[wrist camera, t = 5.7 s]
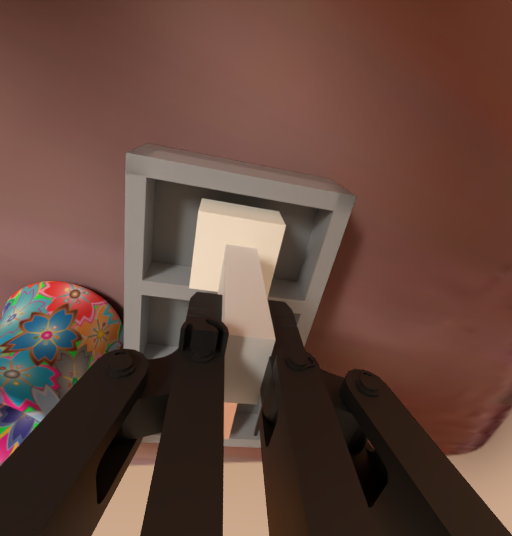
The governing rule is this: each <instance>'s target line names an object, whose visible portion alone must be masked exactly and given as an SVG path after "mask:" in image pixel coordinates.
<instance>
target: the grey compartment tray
mask: <svg viewBox="0 0 512 536" xmlns="http://www.w3.org/2000/svg"><path fill="white" fill-rule="evenodd" d="M356 197H357V196H355V195H354V194H352V193H351V192H349V191H348V190H347V189H345V188H344V187H342V186H341V185H339V184H338V183H336V182H335V181H333V180H332V179H327V178H322V177H317V176H312V175H307V174H302V173H297V172H292V171H287V170H282V169H276V168H271V167H266V166H261V165H256V164H251V163H246V162H241V161H236V160H231V159H226V158H221V157H216V156H211V155H205V154H200V153H195V152H190V151H185V150H180V149H175V148H170V147H165V146H160V145H155V144H150V143H146V144H144V145H142V146H139V147H137V148H135V149H132V150H130V151H128V152H126V162H125V254H124V346H123V349H133V350H136V351H139V352H141V353H143V354H144V356H145V357H146V358H147V359H148V360H149V359H156V358H161V357H165V356H167V355H169V354H171V353H173V352H174V351H176V350H177V348H178V347H179V338H180V329H181V327H182V325H183V323H184V322H185V321H186V316H187V311H188V306H189V301H190V298H191V297H192V296H193V295H194V294H195V293H196V292H204V293H212V294H218V292H214V291H207V290H199V289H191V288H189V285H190V276H191V268H192V260H193V251H194V243H195V235H196V226H197V218H198V210H199V207H200V203H201V200H202V198H204V199H210V200H216V201H222V202H227V203H233V204H239V205H245V206H250V207H256V208H262V209H268V210H273V211H279V212H280V214H281V217H282V219H283V221H284V223H285V225H286V227H285V231H284V235H283V239H282V243H281V247H280V251H279V255H278V259H277V263H276V267H275V271H274V274H273V278H272V282H271V286H270V290H269V294H268V298H267V300H274V301H282V302H286V304H287V305H288V306H289V307H290V308H291V309H292V311H293V314H294V317H295V320H296V323H297V327H298V330H299V333H300V336H301V339H302V342H303V345H304V347H305V344H306V341H307V338H308V335H309V332H310V329H311V327H312V324H313V321H314V318H315V315H316V312H317V309H318V306H319V303H320V301H321V298H322V295H323V292H324V289H325V286H326V283H327V280H328V278H329V275H330V272H331V269H332V266H333V263H334V260H335V257H336V254H337V252H338V249H339V246H340V243H341V240H342V237H343V234H344V231H345V228H346V226H347V223H348V220H349V217H350V214H351V211H352V208H353V205H354V203H355V200H356ZM261 406H262V404H261V395H260V396H259V399H258V403H257V405H256V404H242V403H237V407H236V412H235V416H234V420H233V424H232V428H231V432H230V436H229V439H224V446H232V447H254V448H261V441H260V431H258V435H257V436H254V430H255V426H256V423H257V419H258V416H259V413H260V409H261ZM160 437H161V433H157V434H153V435H150V436H146V437H143V439H142V441H141V442H146V443H159V442H160Z"/></svg>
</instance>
